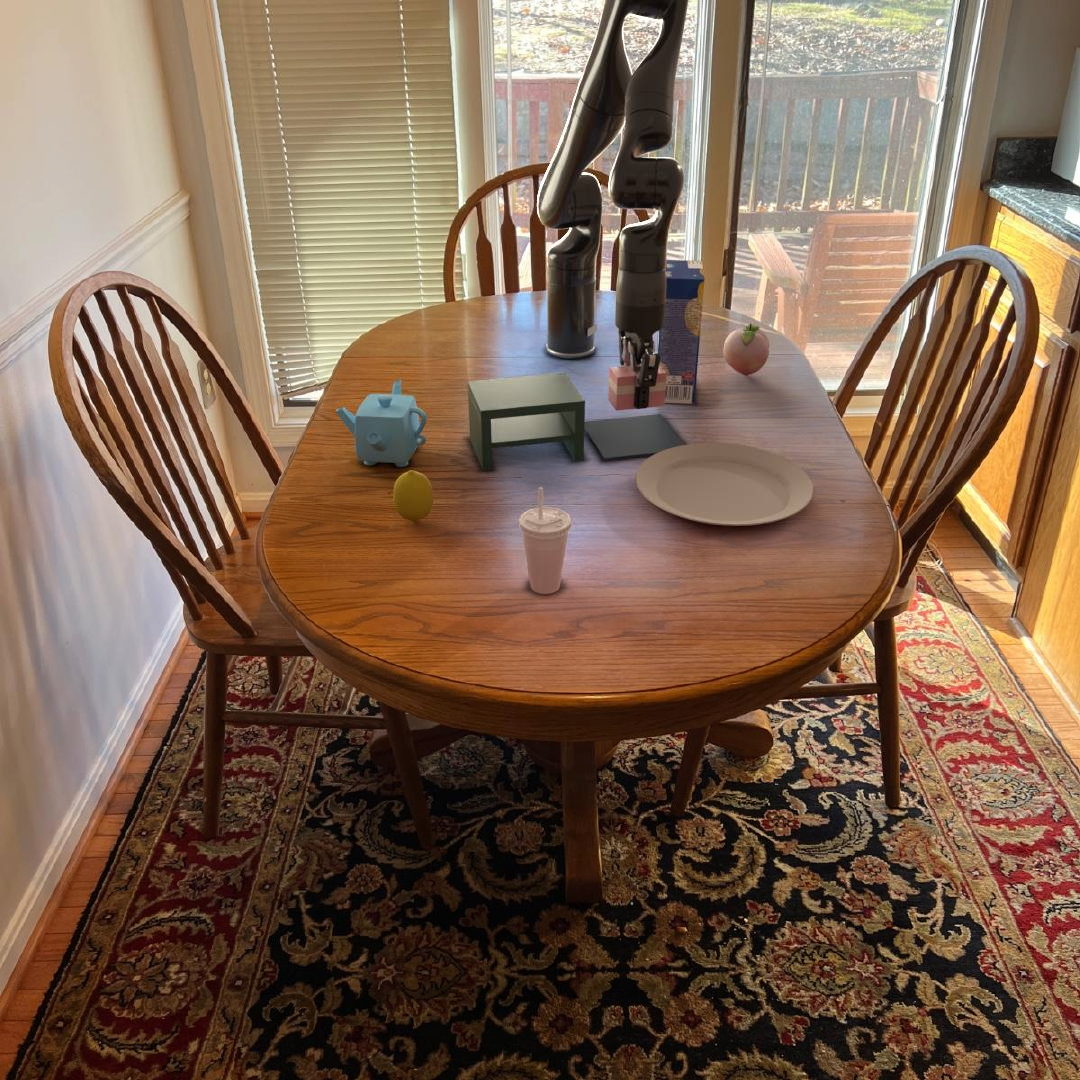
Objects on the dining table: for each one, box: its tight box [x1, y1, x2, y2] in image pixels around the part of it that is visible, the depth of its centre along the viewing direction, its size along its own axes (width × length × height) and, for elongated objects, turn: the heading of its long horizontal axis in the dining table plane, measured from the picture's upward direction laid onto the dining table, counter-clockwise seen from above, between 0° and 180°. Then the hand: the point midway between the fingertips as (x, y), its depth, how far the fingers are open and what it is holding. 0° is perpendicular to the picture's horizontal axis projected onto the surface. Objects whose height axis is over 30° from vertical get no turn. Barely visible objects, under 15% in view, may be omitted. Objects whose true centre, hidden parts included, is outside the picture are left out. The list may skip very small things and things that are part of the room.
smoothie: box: [518, 486, 572, 595], centre depth 124 cm, size 6×6×14 cm
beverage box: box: [655, 259, 706, 405], centre depth 176 cm, size 7×11×22 cm, turn 175°
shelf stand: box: [467, 371, 586, 472], centre depth 159 cm, size 12×16×10 cm
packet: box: [607, 365, 666, 412], centre depth 160 cm, size 4×8×6 cm, turn 103°
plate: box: [635, 442, 814, 527], centre depth 148 cm, size 26×26×2 cm
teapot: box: [335, 379, 427, 468], centre depth 157 cm, size 18×14×10 cm
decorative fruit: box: [722, 323, 770, 377], centre depth 185 cm, size 9×8×10 cm
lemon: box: [392, 469, 435, 523], centre depth 139 cm, size 6×6×8 cm
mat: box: [584, 413, 686, 462], centre depth 165 cm, size 14×14×1 cm
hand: (636, 401), depth 161 cm, fingers closed on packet, 4 cm apart
